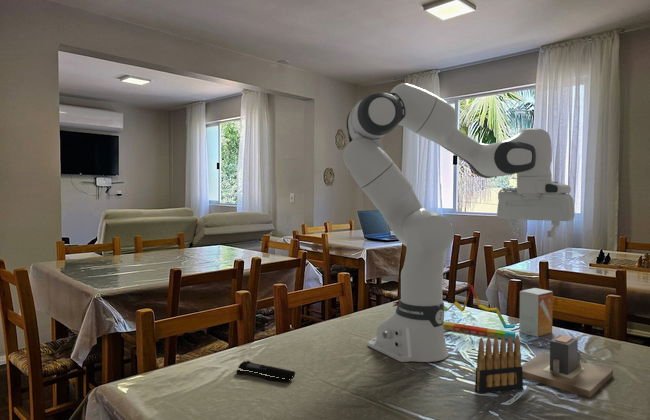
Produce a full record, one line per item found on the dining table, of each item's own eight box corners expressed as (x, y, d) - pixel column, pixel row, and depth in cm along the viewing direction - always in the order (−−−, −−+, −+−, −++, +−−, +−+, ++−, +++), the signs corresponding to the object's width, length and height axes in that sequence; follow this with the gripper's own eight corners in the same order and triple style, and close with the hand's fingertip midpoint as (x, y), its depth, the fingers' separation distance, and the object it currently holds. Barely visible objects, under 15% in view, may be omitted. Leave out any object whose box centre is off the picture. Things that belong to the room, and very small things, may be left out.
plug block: (549, 370, 104) (550, 339, 104) (559, 363, 108) (559, 334, 108) (568, 375, 101) (568, 343, 101) (577, 367, 105) (577, 338, 105)
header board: (515, 375, 105) (515, 354, 105) (542, 357, 116) (542, 339, 116) (589, 397, 94) (590, 374, 93) (612, 376, 104) (613, 355, 104)
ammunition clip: (518, 385, 100) (518, 333, 99) (523, 389, 98) (523, 335, 98) (474, 390, 98) (475, 336, 97) (479, 393, 96) (479, 339, 96)
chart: (415, 325, 146) (415, 280, 146) (418, 323, 149) (418, 279, 148) (513, 342, 130) (513, 291, 129) (515, 338, 132) (515, 289, 132)
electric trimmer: (290, 387, 101) (289, 374, 101) (235, 375, 108) (235, 362, 108) (298, 381, 104) (298, 368, 104) (244, 369, 111) (244, 357, 111)
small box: (538, 337, 132) (538, 294, 132) (518, 332, 137) (519, 290, 137) (553, 332, 137) (553, 291, 136) (533, 327, 142) (534, 287, 141)
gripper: (493, 187, 130) (493, 234, 130) (568, 186, 115) (567, 239, 115) (503, 187, 134) (503, 233, 134) (577, 186, 119) (576, 237, 119)
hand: (533, 236), depth 125 cm, fingers open, 8 cm apart
